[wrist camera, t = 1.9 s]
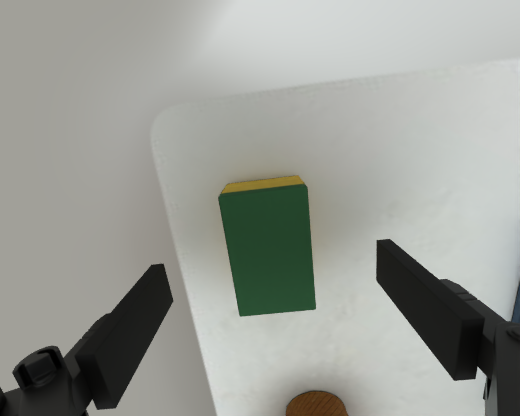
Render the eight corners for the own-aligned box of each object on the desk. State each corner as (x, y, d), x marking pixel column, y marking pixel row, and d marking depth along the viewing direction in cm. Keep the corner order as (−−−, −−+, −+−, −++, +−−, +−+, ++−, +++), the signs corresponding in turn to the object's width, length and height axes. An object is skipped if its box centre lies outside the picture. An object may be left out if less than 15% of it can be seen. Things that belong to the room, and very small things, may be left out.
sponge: (226, 183, 19) (217, 197, 15) (298, 175, 19) (307, 186, 15) (243, 284, 22) (239, 317, 18) (306, 277, 21) (316, 309, 18)
